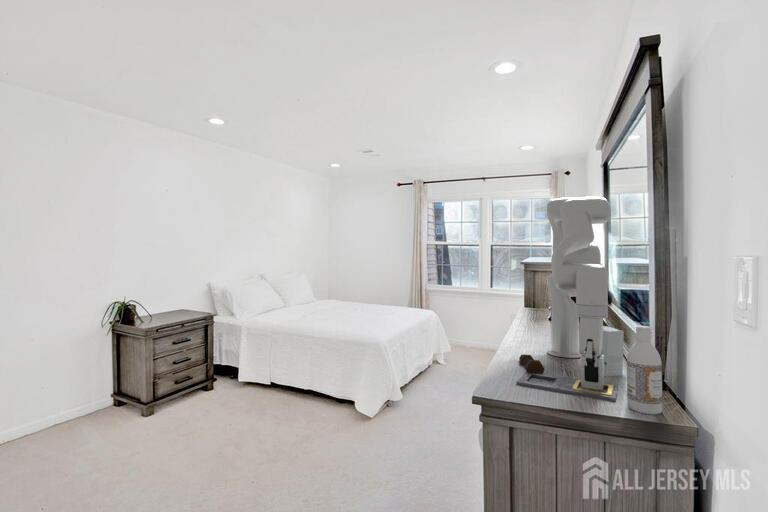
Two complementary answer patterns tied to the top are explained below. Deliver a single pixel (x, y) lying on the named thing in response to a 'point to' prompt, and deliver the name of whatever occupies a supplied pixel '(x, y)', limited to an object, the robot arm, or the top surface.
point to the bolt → (531, 364)
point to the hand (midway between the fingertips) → (592, 378)
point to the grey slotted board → (567, 386)
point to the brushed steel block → (600, 373)
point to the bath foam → (644, 374)
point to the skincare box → (612, 351)
